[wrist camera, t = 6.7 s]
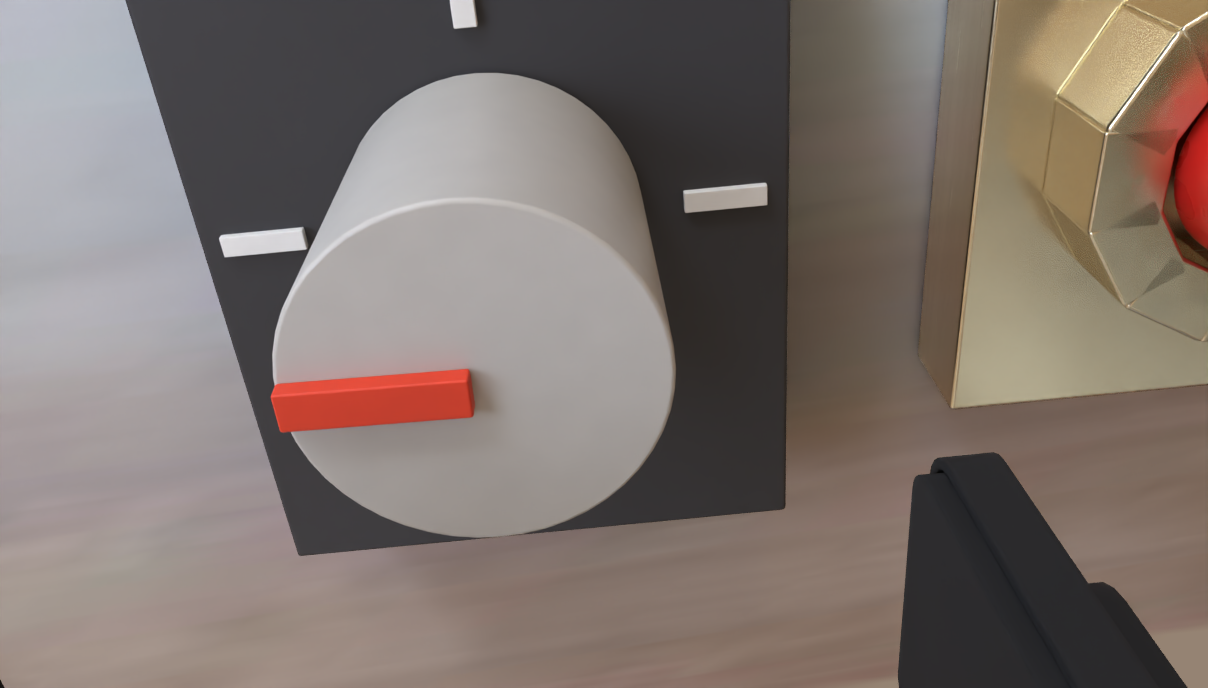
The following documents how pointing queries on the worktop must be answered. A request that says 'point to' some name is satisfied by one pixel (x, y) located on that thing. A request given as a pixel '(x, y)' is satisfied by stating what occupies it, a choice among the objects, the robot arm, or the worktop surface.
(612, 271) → the knob
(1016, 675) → the robot arm
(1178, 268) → the button box
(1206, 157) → the button
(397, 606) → the worktop surface
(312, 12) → the panel
